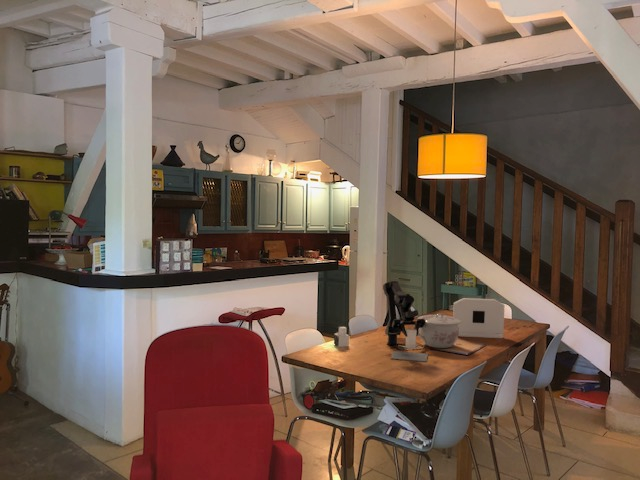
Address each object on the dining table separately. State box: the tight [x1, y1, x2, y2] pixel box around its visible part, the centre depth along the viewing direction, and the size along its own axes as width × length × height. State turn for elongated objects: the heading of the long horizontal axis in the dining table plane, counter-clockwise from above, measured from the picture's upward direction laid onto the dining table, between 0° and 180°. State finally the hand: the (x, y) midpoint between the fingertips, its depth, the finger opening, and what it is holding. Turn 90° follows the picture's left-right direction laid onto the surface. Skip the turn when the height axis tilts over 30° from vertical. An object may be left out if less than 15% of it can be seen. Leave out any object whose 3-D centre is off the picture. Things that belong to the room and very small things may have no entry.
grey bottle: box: [333, 325, 350, 348], centre depth 326 cm, size 7×7×12 cm
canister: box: [404, 328, 417, 349], centre depth 299 cm, size 6×6×10 cm
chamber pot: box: [416, 312, 462, 349], centre depth 331 cm, size 28×28×21 cm
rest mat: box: [390, 350, 429, 363], centre depth 304 cm, size 16×20×1 cm
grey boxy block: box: [452, 297, 505, 339], centre depth 368 cm, size 33×24×26 cm
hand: (411, 336), depth 298 cm, fingers closed on canister, 6 cm apart
